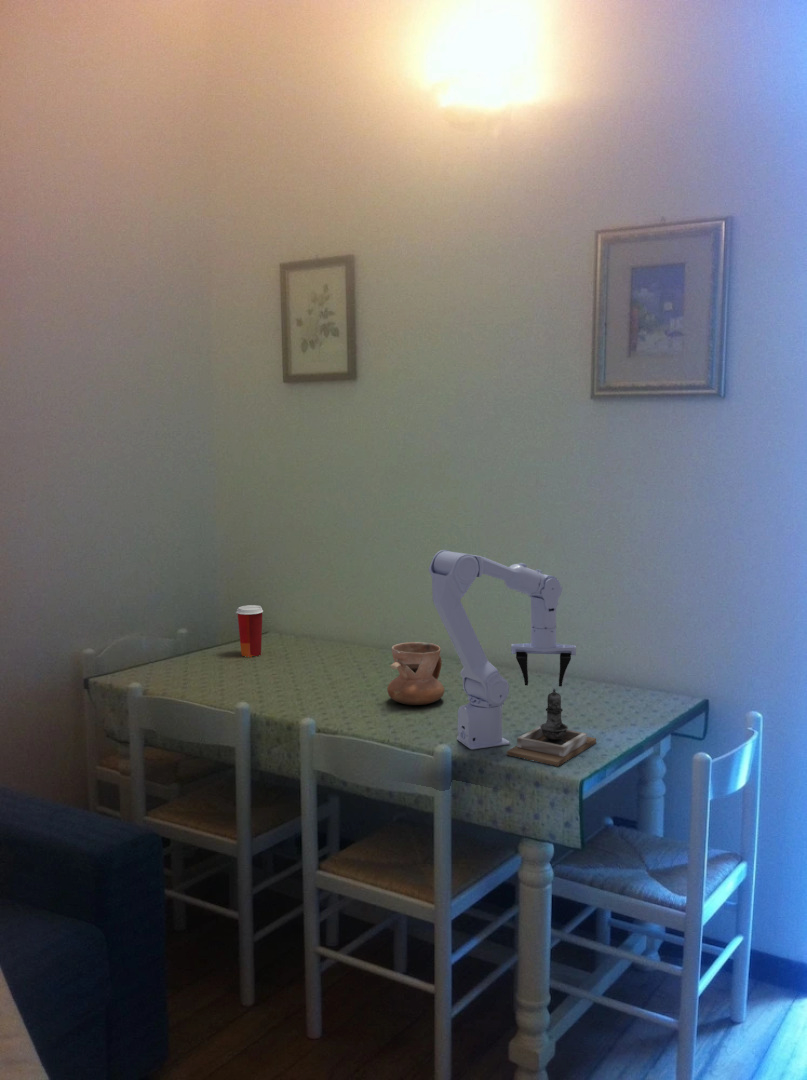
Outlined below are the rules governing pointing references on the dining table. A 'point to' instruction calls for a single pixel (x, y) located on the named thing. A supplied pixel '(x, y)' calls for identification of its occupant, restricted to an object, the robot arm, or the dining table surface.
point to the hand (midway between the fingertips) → (543, 684)
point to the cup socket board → (550, 747)
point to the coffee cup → (250, 629)
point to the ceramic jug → (416, 673)
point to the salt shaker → (554, 721)
